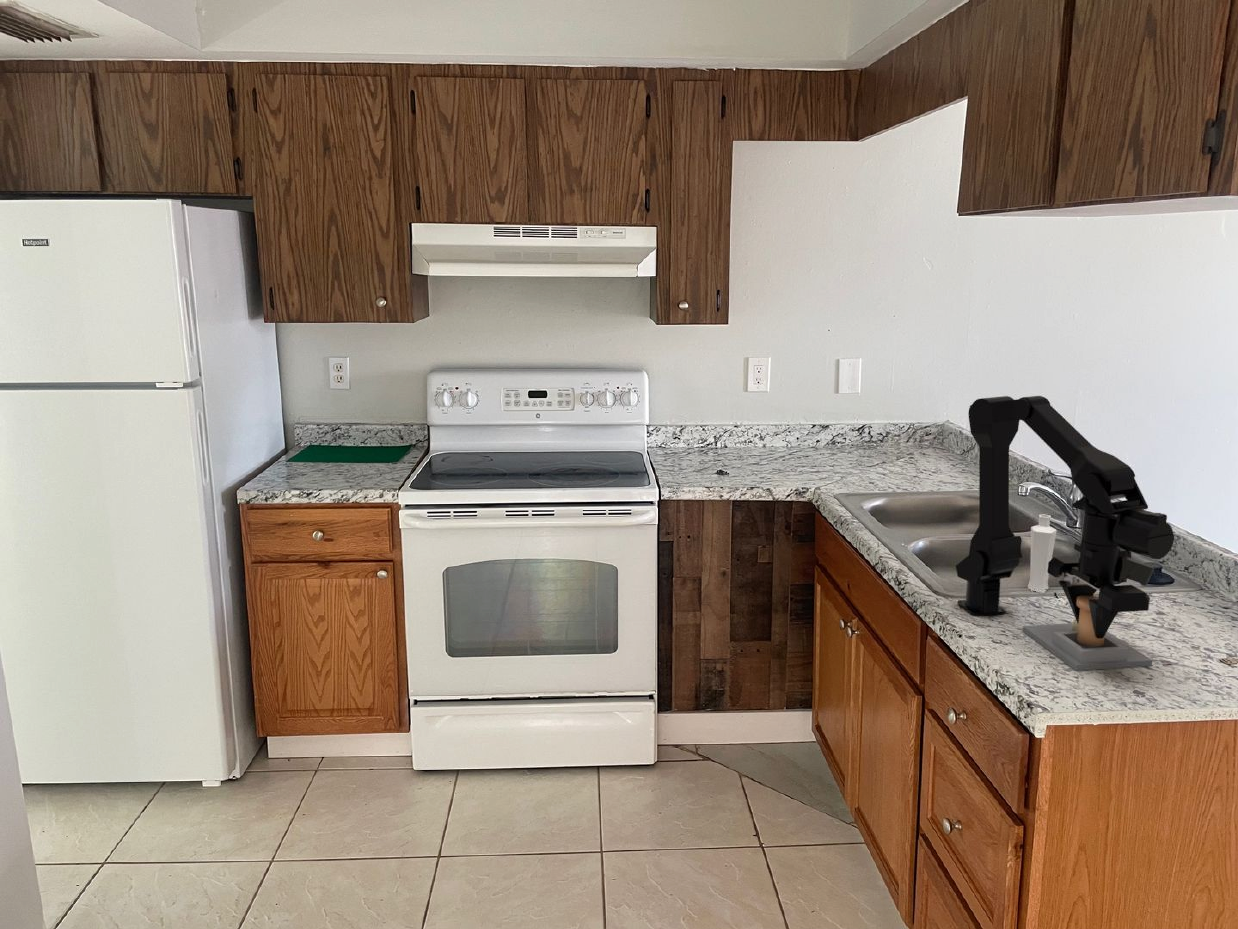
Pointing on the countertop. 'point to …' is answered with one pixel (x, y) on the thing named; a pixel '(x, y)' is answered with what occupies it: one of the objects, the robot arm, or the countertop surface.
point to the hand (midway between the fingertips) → (1090, 632)
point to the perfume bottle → (1041, 553)
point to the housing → (1085, 648)
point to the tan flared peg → (1086, 622)
